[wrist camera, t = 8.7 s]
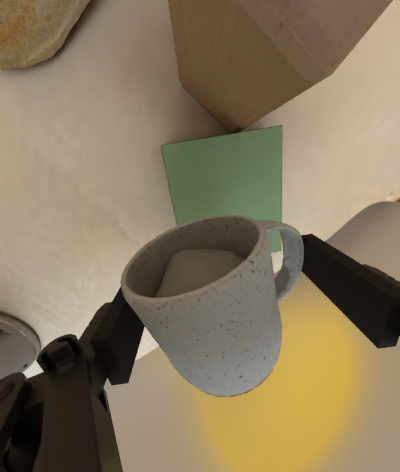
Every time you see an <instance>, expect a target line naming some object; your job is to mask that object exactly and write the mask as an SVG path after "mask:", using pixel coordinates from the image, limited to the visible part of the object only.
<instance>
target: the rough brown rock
mask: <svg viewBox="0 0 400 472" xmlns="http://www.w3.org/2000/svg"><path fill="white" fill-rule="evenodd" d="M89 2H90V0H0V70H3V69H10V68H15V69H24V68H28V67H31V66H32V65H35V64H37V63H40V62H42V61H45V60H47V59H49V58H51V57H53V55H54V54H55V53H56V51H57V50H59V49H60V48H61V47H62V45H63V43H64V41H65V39H66V38H67V36H68V34H69V32H70V30H71V28H72V27H73V26H74V25H75V23H76V22H77V21H78V19H79V17H80V15H81V13H82V12H83V11H84V10H85V8H86V5H87V4H88V3H89Z"/></svg>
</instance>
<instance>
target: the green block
mask: <svg viewBox="0 0 400 472" xmlns="http://www.w3.org/2000/svg"><path fill="white" fill-rule="evenodd" d="M161 150H162V155H163V160H164V164H165V169H166V174H167V179H168V184H169V188H170V193H171V198H172V203H173V208H174V213H175V217H176V222H177V226H179V225H182V224H185V223H188V222H190V221H193V220H197V219H202V218H206V217H209V216H214V215H227V214H230V215H245V216H248V217H251V218H253V219H255V220H257V221H264V220H270V221H276V222H280V223H282V125H281V126H275V127H269V128H263V129H257V130H251V131H245V132H239V133H233V134H227V135H221V136H215V137H209V138H202V139H196V140H190V141H184V142H178V143H172V144H166V145H161ZM267 235H268V238H269V243H270V249H271V252H278V251H281V234H280V232H279V230H278V231H272V232H267Z"/></svg>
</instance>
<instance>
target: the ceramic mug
mask: <svg viewBox="0 0 400 472" xmlns="http://www.w3.org/2000/svg"><path fill="white" fill-rule="evenodd" d="M278 230H279V232H280V234H281V235H282V242H283V265H282V267H281V270H280V271H279V273H278V275H277V276H276V278H275V279H274V272H273V266H272V257H271V249H270V243H269V238H268V235H267V232H272V231H278ZM303 261H304V244H303V240H302V237H301V235H300V233H299V232H298V231H297V230H296V229H295V228H294V227H292V226H290V225H287V224H284V223H280V222H276V221H270V220H264V221H257V220H255V219H253V218H251V217H248V216H245V215H230V214H227V215H214V216H209V217H206V218H202V219H197V220H193V221H190V222H188V223H185V224H182V225H179V226H177V227H175V228H173V229H170V230H168V231H166V232H165V233H163V234H161V235H159V236H157V237H156V238H155V239H153V240H152V241H150V242H148V243H147V244H145V246H144V247H143V248H142V249H140V250H139V251H138V252H137V253H136V254H135V255H134V257H133V258H132V259H131V260H130V261H129V263H128V264H127V265H126V267H125V269H124V272H123V274H122V278H121V288H122V292H123V295H124V297H125V299H126V301H127V302H128V304H129V305H130V306H131V308H132V309H133V310H134V311H135V313H136V314H137V315H138V317H139V318H140V320H141V321H142V323H143V324H144V325H145V327H146V328H147V330H148V331H149V332H150V334H151V335H152V337H153V338H154V339H155V340H156V342H157V343H158V344H159V346H160V347H161V348H162V350H163V351H164V353H165V354H166V355H167V357H168V359H169V360H170V362H171V363H172V365H173V366H174V367H175V369H176V370H177V371H178V373H179V374H180V375H181V376H182V377H183V378H184V379H186V380H187V381H188V382H189V383H190V384H192V385H193V386H195V387H196V388H197V389H199V390H201V391H203V392H205V393H207V394H210V395H214V396H217V397H234V396H237V395H241V394H244V393H247V392H249V391H251V390H252V389H254V388H256V387H257V386H259V385H261V383H262V382H263V381H264V380H265V379H266V378H267V377H268V376H269V374H270V373H271V372H272V370H273V368H274V366H275V364H276V362H277V359H278V356H279V353H280V347H281V339H282V324H281V317H280V311H279V307H278V302H279V301H280V300H281V299H282V298H284V297H285V296H286V295H287V294H288V293H289V291H290V290H291V289H292V288H293V287H294V286H295V283H296V282H297V280H298V277H299V275H300V272H301V270H302V266H303Z"/></svg>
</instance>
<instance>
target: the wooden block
mask: <svg viewBox="0 0 400 472" xmlns="http://www.w3.org/2000/svg"><path fill="white" fill-rule="evenodd" d="M168 1H169V8H170V15H171V22H172V29H173V36H174V43H175V50H176V57H177V64H178V71H179V78H180V82H181V84H182V86H183V88H184V89H185V90H186V91H187V92H188V93H190V94H191V95H192V96H193V97H194V98H195V99H196V100H197V101H198V102H199V103H200V104H201V105H202V106H203V107H205V108H206V109H207V110H208V111H209V112H210V113H211V114H212V115H213V116H214V117H215V118H216V119H217V120H219V121H220V122H221V123H222V124H223V125H224V126H225V127H226V128H227V129H228V130H229V131H230V132H232V133H238V132H240V131H241V130H243V129H245V128H246V127H248V126H249V125H251V124H253V123H254V122H256V121H257V120H259V119H261V118H262V117H264V116H265V115H267V114H269V113H270V112H272V111H273V110H275V109H277V108H278V107H280V106H281V105H283V104H285V103H286V102H288V101H289V100H291V99H293V98H294V97H296V96H298V95H299V94H301V93H302V92H304V91H306V90H307V89H309V88H310V87H312V86H314V85H315V84H317V83H318V82H320V81H322V80H323V79H325V78H326V77H328V76H330V75H331V74H333V72H334V71H335V70H336V69H337V67H338V66H339V65H340V64H341V63H342V61H343V60H344V59H345V58H346V56H347V55H348V54H349V53H350V52H351V50H352V49H353V48H354V47H355V46H356V44H357V43H358V42H359V41H360V39H361V38H362V37H363V36H364V35H365V33H366V32H367V31H368V30H369V28H370V27H371V26H372V25H373V24H374V22H375V21H376V20H377V19H378V17H379V16H380V15H381V14H382V13H383V11H384V10H385V9H386V8H387V7H388V5H389V4H390V3H391V2H392V0H168Z"/></svg>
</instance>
